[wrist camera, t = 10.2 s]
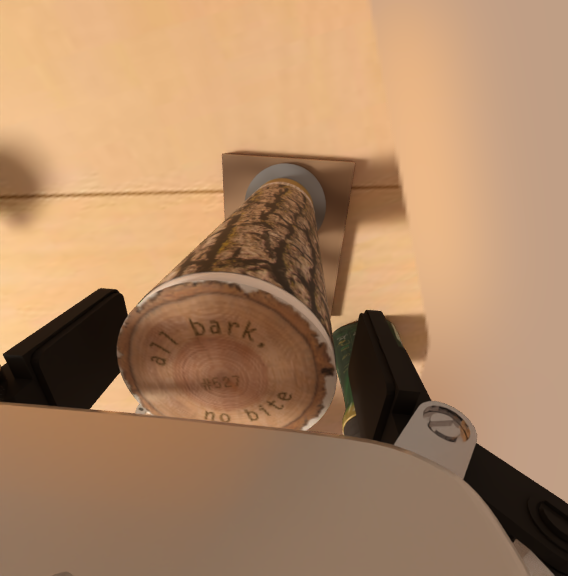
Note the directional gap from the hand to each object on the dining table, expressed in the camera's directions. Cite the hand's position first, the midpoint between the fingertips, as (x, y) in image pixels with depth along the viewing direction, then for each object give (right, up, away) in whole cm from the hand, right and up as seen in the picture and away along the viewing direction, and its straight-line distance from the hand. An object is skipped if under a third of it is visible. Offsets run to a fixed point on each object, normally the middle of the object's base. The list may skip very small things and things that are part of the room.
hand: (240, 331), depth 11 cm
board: (+2, +7, +24) cm, 25 cm away
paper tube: (+2, +10, +20) cm, 23 cm away
